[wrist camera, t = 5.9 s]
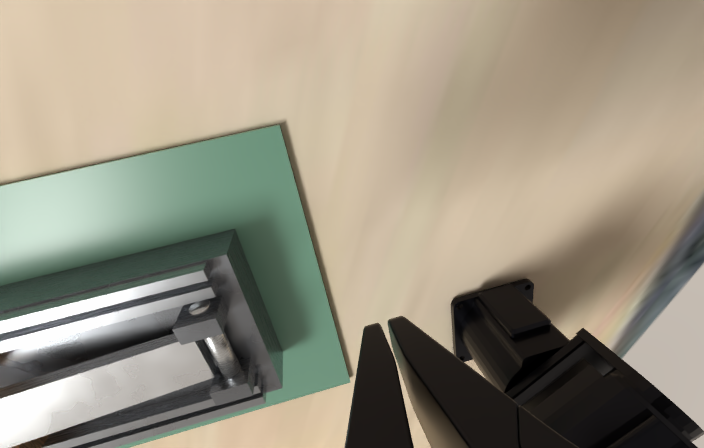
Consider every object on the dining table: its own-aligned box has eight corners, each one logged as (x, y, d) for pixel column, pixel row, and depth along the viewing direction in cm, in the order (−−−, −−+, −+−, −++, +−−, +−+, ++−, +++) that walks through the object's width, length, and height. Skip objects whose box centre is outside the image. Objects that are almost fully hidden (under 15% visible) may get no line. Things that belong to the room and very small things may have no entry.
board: (349, 378, 26) (350, 382, 26) (33, 470, 24) (29, 476, 24) (279, 124, 17) (279, 125, 17) (-232, 236, 15) (-245, 239, 15)
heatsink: (283, 351, 23) (282, 421, 18) (46, 417, 22) (-19, 511, 17) (234, 228, 19) (218, 279, 14) (-66, 302, 17) (-196, 386, 13)
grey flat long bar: (216, 365, 18) (214, 377, 18) (-18, 445, 16) (-30, 461, 16) (195, 326, 17) (192, 337, 16) (-62, 407, 15) (-78, 424, 14)
